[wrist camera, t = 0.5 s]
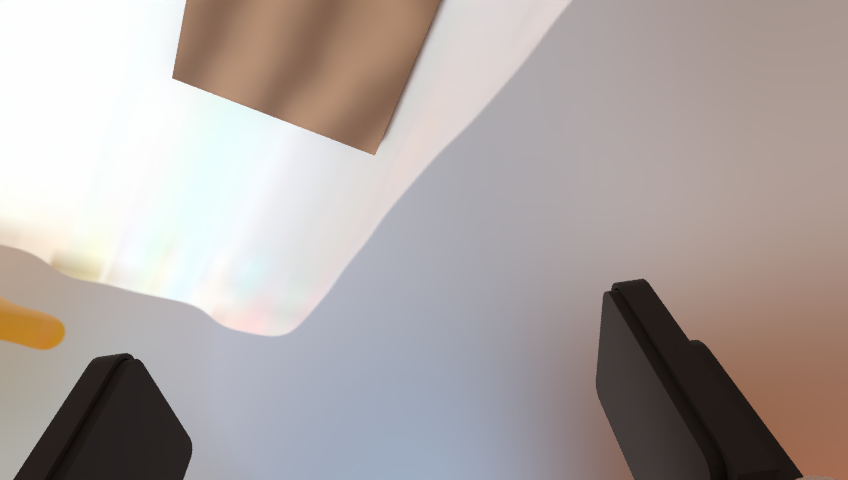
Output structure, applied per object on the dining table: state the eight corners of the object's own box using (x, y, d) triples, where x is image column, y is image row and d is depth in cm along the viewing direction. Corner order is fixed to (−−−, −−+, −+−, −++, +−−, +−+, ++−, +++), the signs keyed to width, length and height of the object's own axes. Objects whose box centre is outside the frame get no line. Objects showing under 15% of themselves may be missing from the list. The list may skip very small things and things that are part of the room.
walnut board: (179, 72, 39) (172, 78, 37) (218, -135, 32) (211, -137, 31) (375, 148, 43) (374, 155, 42) (445, -21, 36) (447, -18, 35)
